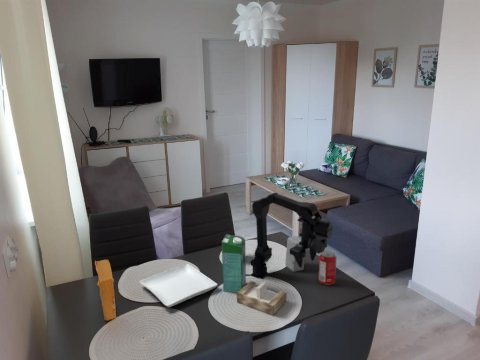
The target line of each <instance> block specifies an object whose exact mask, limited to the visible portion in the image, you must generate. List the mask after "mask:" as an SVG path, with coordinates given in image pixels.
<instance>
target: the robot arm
mask: <svg viewBox="0 0 480 360" xmlns="http://www.w3.org/2000/svg"><path fill="white" fill-rule="evenodd" d="M272 204H275V205H277V206H280V207H282V208H284V209H287V210H290V211H292V212H294V213H296V215H297V216H299V218H298V219H297V220H296V221H297V222H301V232H300V233H299V236H300V238H301V241H300V242H299V244H300V245H301V246H302V247H298V246H294V247H292V248H291V249H290V254H291V255H293V256H294V257H295V259H296V261H297V263H298V265H299V267H300V268H301V267H302V263H303V258H304V257H305V258H306V253H307V250H309V256H310V260H311V261H312V262H313V261H314V260H315V258H316V256H317V254H318V255H320V254H321V252H323V251H325V249H326V248H327V247H328V239H330V238H331V237H332V234H333V231H334V228H333V225H332V222H331V221H328V220H322V219H323V217H322V215H321V214H320V212H319V210H318V207H317V205H316V204H315V203H313V202H308V201H307V202H306V201H298V200H295V199H292V198H289V197H287V196H284V195H282V194H278V193H277V192H273V193H270V194H268V196H266V197H261V198H259V199H257V200H255V201H253V202H252V204H251V208H252V213H253V215H254V216H255V221H256V222H255V223H256V243H257V245H256V247H255V251H254V257H253V258H252V259H251V260H250V261H249V263H250V266H252V273H251V274H250V276H251V277H254V278H258V279H263V278H265V277H266V276H267V275H268V274H269V272H268V267H267V263H268V262H269V260H270V259H271V258H272V256H273V252H272V251H273V248H272V247H270V246H269V245H268V227H267V226H268V224H267V216H268V214H269V211H270V205H272ZM313 217H314V218H313ZM299 236H298V237H299ZM319 236H321V237H319ZM322 237H323V238H322ZM326 238H328V239H326Z"/></svg>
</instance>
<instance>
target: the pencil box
mask: <svg viewBox="0 0 480 360" xmlns="http://www.w3.org/2000/svg"><path fill="white" fill-rule="evenodd" d="M256 284H257V281H256V282H255V281H253V280H250V281H249V282H248V283H246V284H245V287H243V288H242V289H241V290H240V291H239V292H236V303H238V304H240V305H242V306H245V307H249V308H250V309H254V310H257V311H259V312H262V313H265V314H267V315H269V316H272V317H273V316H274V315H276V314H277V312H278V311H279V310H280V309H281V308H282V307H283V306H284V305H285V304H286V303H287V292H286V291H284V290H279V292H277V293H278V294H277V295H276V296H275V297H274V298H273V299H272V300H271V301H270V302H269V303H267V302H264V301H261V300H259V299H256V298H253V297H250V296H247V295H244V293H246V292H247V291H248V290H249V289H250V288H251V287H253V286H256Z"/></svg>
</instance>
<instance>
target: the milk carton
mask: <svg viewBox="0 0 480 360" xmlns="http://www.w3.org/2000/svg"><path fill="white" fill-rule="evenodd" d="M235 236H236V235H231V234H229V233H226V234H225V235H224V238H222V239H223V240H221V257H222V259H221V261H222V283H223V284H222V287H223V289H222V290H223V292H230V293H237V292H239V291H240V290H241V289H242V288H243V287H245V286H246V285H247V271H246V270H247V268H246V262H247V261H246V257H247V256H246V239H241V238H238V237H235Z"/></svg>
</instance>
